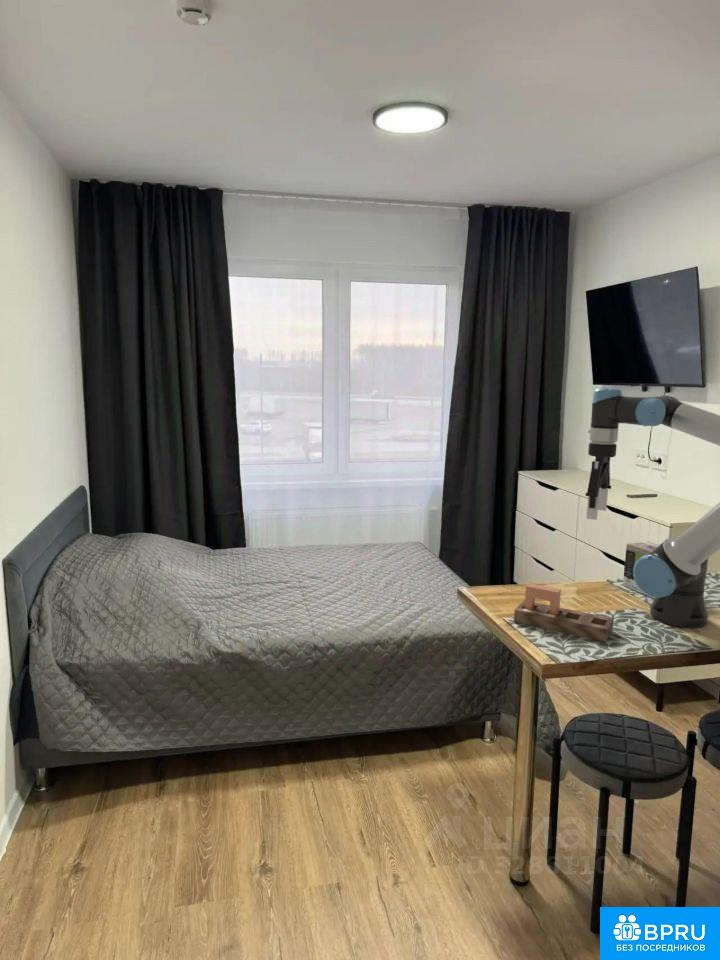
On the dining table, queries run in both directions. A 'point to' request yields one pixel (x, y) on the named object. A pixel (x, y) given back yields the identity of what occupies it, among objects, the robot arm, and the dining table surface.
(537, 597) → the pink u-shaped block
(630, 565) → the grey electronic device
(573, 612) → the brown compartment rack
